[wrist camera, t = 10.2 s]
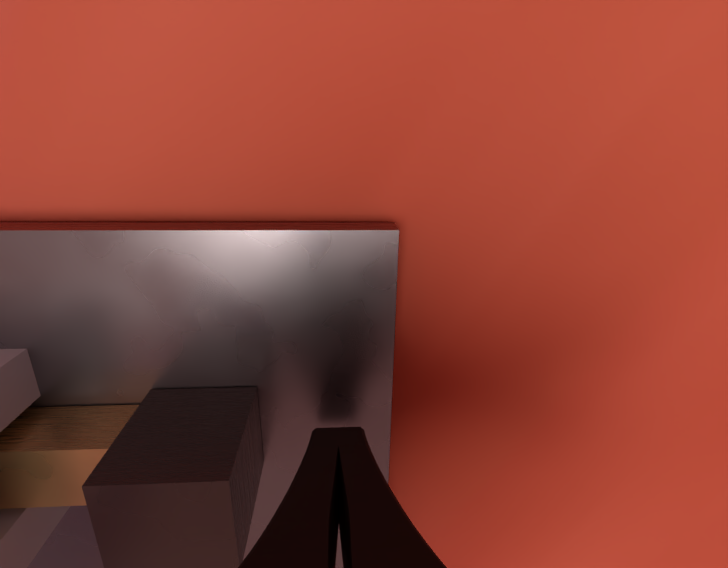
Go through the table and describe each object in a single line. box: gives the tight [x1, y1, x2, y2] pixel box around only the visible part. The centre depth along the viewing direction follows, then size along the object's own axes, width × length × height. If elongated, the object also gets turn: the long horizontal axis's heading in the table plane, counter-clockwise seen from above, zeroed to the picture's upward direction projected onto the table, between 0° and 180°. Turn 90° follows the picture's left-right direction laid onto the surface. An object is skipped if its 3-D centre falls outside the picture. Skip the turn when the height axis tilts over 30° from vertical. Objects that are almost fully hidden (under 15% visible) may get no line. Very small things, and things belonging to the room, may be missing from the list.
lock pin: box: [0, 387, 264, 568], centre depth 11 cm, size 3×11×4 cm, turn 89°
